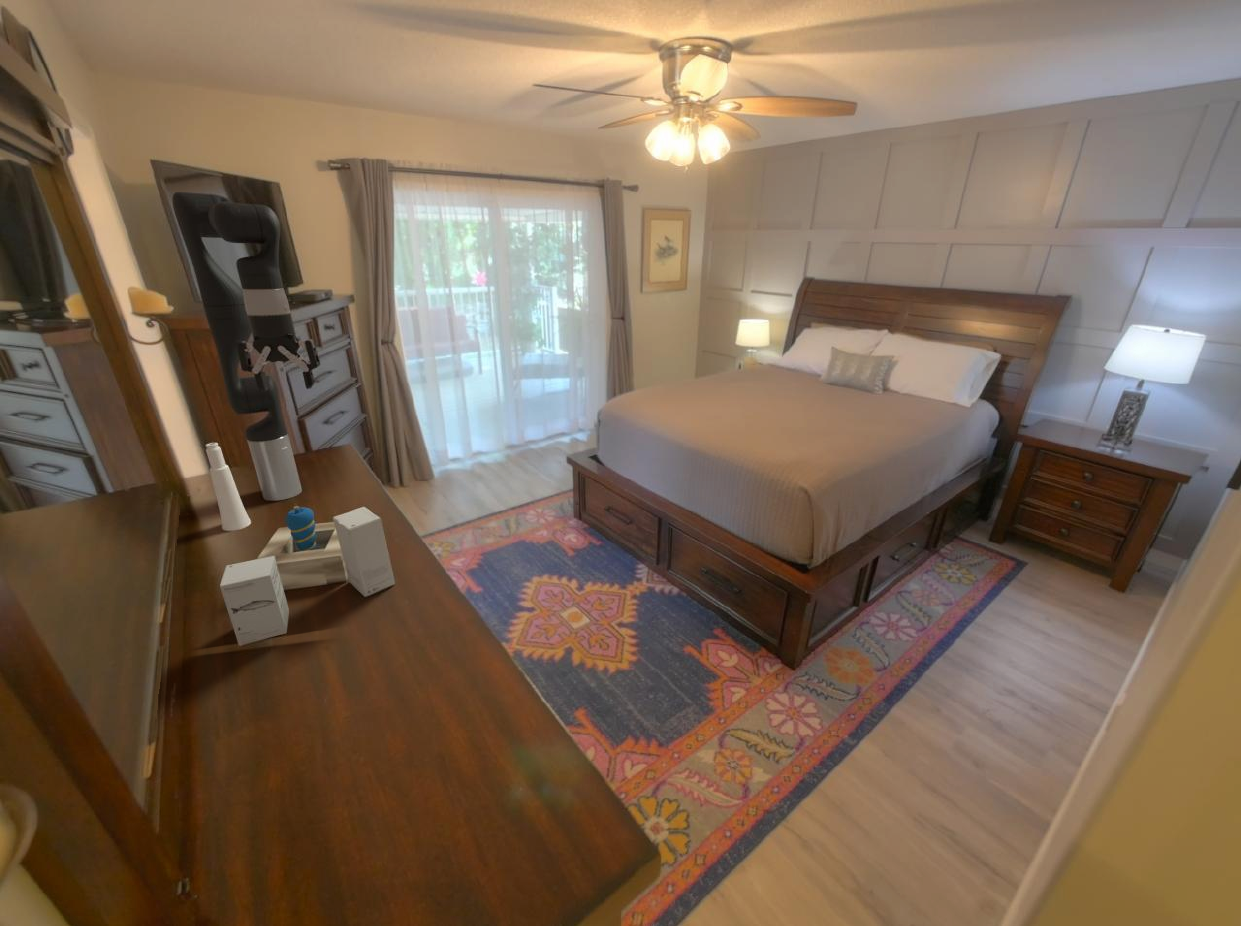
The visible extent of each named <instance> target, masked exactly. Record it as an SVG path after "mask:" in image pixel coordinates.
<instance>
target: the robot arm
mask: <svg viewBox="0 0 1241 926" xmlns="http://www.w3.org/2000/svg"><path fill="white" fill-rule="evenodd" d="M171 201H172V207H173V211H174V212H173V213H174V215H175V218H176V222H177V225H178V227H179V230H180V232H181V236H182V238H183V239H182V240H183V242H184V244H185V248H186V250H187V253H188V257H189V258H190V261H191V264H192V268H193V272H194V274H195V278H196V283H197V285H198V287H197V288H198V290H199V294H200V299H201V303H202V306H203V309H204V314H205V316H206V320H207V321H206V322H207V324H208V326H209V330H210V333H211V335H212V339H213V342H214V345H215V347H216V352H217V354H218V355H217V356H218V359H219V364H220V369H221V373H222V377H223V381H224V382H223V383H224V385H225V386H224V387H225V391H226V395H227V399H228V402H229V405H230V408H231V409H232V411H233V412H234V413H235V414H236V415H240V416H242V415H251V414H258V413H266V412H268V414H267V415H266V416H265V417H264V418H262V419H260V420H259V421H257V422H255V423H252V424H251V425H249V426H247V427H246V428H245V429H244V432H245V434H244V435H245V437H246V441H247V444H248V447H249V452H250V454H251V458H252V462H253V465H254V468H255V472H256V476H257V479H258V484H259V487H260V490H261V493H262V497H263V499H264V500H265V501H269V502H276V501H277V502H278V501H284V500H287V499H292V498H294V497H296V496H298V495H299V494H301V493H302V491H303V490H302V489H303V488H302V484H301V481H300V480H301V479H300V476H299V472H298V469H297V465H296V461H295V456H294V454H293V449H292V446H291V442H290V437H289V433H288V430H287V426H286V422H285V419H284V414H283V409H282V404H281V398H280V397H281V396H280V393H279V388H278V385H277V383H276V380H275V379H274V378H273V377H272V376H271V375H266V373H265V371H264V369H265V367H266V365H267V364H268V363H269V362H270V363H277V362H283V363H286V362H289V361H290V362H292V363H293V364H294V365H297V367H299V368H300V369H301V370H302V371H303V372H302V377H303V380H304V381H303V382H304V384H305V389H306V390H308V389H309V390H311V389H312V388H313V386H314V385H315V379H314V374H313V370H314V369H317V368H318V367H320V366H321V361H320V358H319V357H320V356H319V353H318V350H317V347H316V343H315V340H314V339H312V338H308V339H306V340H304V339H303V340H299V339H298V338H297V335H296V330H295V327H294V322H293V317H292V313H291V309H290V304H289V301H288V298H287V295H286V292H285V288H284V284H283V280H282V275H281V271H280V265H279V264H280V263H279V260H280V259H279V254H280V253H279V250H280V237H281V224H280V220H279V218H278V216H277V214H276V213H275V211H273V210H272V208H270V207H269V206H267V205H264V204H256V203H255V204H254V203H252V204H251V203H239V202H233V201H231V200H230V199H228V198H227V197H224V196H222V195H218V194H216V193H215V194H213V193H202V192H201V193H200V192H199V193H198V192H188V191H187V192H186V191H177V192H174V193H173V194H172V199H171ZM202 238H206V239H207V238H209V239H210V238H213V239H214V238H215V239H222V240H223V241H224V242H225V241H226V242H227V243H231V244H234V243H235V244H256V245H257V244H260V247H261V248H260V250H259V252H258V253H257V254H253V255H249V256H244V257H240V258H238V259H237V260H236V264H235V265H236V269H237V274H238V277H239V281H240V285H241V286H239V284H238V283H237V282H236V281H235V280H234V279H233V278H232V277H231V276H229V275H228V274H227V272H225V271H224V270H223V268H221V266H220V265H219V264H218V263H217V261H215V259H214V258H213V257H212V255H211V254H210V253H209V251H208V249H207V247H206V246H205V243H204V241H203V239H202ZM251 336H252V337H253V340H252V341H249V340H250V338H251ZM300 347H301V348H302V349H303V350H304V351H306V353H307V356H308V360H309V362H308V361H307V360H306V359H305V357H304V356H303V355H302V354H301V353H299V352H298V351H299V349H300ZM253 349H254V350H255V351H256V352H258V354H259V356H258V358H257V360H256V363H255V364H253V363H252V356H251V352H253ZM239 364H240V367H241V368H240V369H241V371H243V372H249V373H252V374H253V375H254V376H250V377H249V376H248V377H239V375H238V374H239V372H238V371H239Z"/></svg>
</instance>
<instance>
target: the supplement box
mask: <svg viewBox="0 0 1241 926" xmlns="http://www.w3.org/2000/svg"><path fill="white" fill-rule="evenodd" d="M223 571H224V572H223V575H222V578H221V582H220V584H219V585H220V586H219V587H220V591H221V594H222V598H223V600H224V604H225V607H226V610H227V613H228V616H229V618H230V622H231V625H232V628H233V631H234V634H235V636H236V640H237V644H238V646H240V647H241V646H244V645H247V644H250V643H251V644H252V643H254V642H257V641H261V640H262V641H263V640H265V639H269V638H272V637H277V636H280V635H286V634H287V632H288V624H289V615H290V609H289V606H288V601H287V597H286V594H285V590H284V589H283V586H282V582H281V579H280V575H279V571H278V568H277V564H276V559H275V556H270V557H266V558H261V559H257V558H256V559H252V560H246V561H242V562H237V563H233V564H226V565H225V568H224V570H223Z"/></svg>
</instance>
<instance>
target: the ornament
mask: <svg viewBox="0 0 1241 926" xmlns="http://www.w3.org/2000/svg"><path fill="white" fill-rule="evenodd" d="M295 505H296V504H294V506H293V509H291V510H290V511H288V512H287V514H286V517H285V523H286V527H288V528H289V529H290V530H291V536H292V537H293V538H294V539H295V540H296V545H297V547H298V548H299V549H300V551H309V550H317V545H316V542H315V539H316V532H315V524H316V521H315V520H314V518H315V513H314V511H313V510H312V509H311V508H309V507H303V506H302V507H300V506H299V505H296V506H295Z"/></svg>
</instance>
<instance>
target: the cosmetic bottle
mask: <svg viewBox="0 0 1241 926" xmlns="http://www.w3.org/2000/svg"><path fill="white" fill-rule="evenodd" d="M205 447H206V449H205V451H206V454H207V458H208V461H209V464H210V465H209V466H210V468H209V473H210V477H211V482H212V485H213V489H214V492H215V495H216V500H217V501H216V502H217V504H218V509H219V514H220V520H221V529H222V530H223V531H226V532H232V531H238V530H242V529H245V528H246V527H249V526H250V525H251V523H252V520H251V519H250V517H249V515H248V513H247V511H246V508H245V507H244V504H243V501H242V499H241V497H240V494H239V491H238V488H237V485H236V483H235V480H234V478H233V475H232V472H231V469H230V467H229V465H228V464H226V461H225V458H224V455H223V452H222V448H221V447H220V446H219V443H218V442H210V443H207V444H205Z"/></svg>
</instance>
